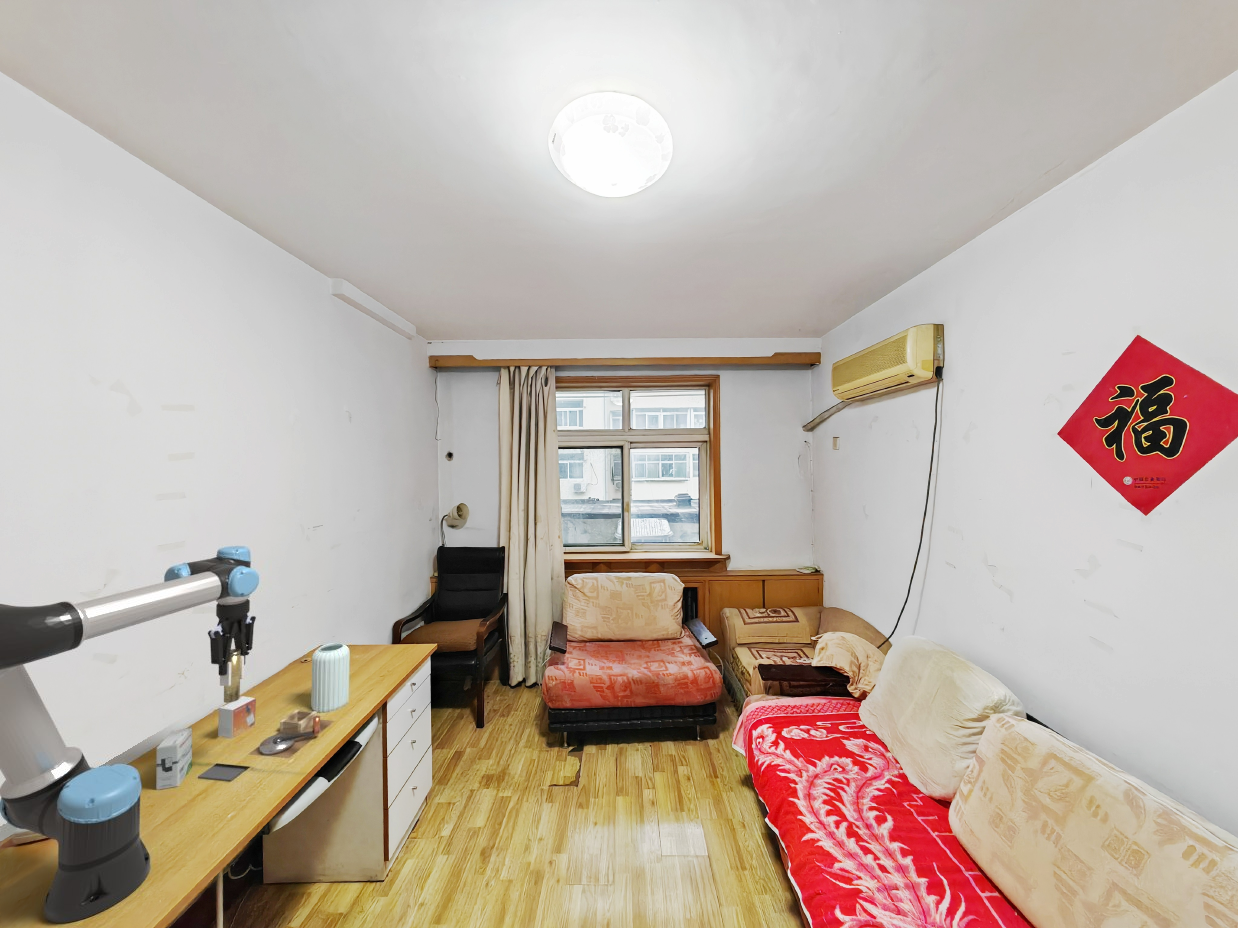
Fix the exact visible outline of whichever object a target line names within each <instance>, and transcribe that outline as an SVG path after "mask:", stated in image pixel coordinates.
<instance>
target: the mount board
mask: <svg viewBox="0 0 1238 928" xmlns="http://www.w3.org/2000/svg"><path fill="white" fill-rule="evenodd" d="M334 722H335V720H330V719H329V720H328V719H320V733H319V734H317V735H309V736H305V737H300V738H296V739H295V743H294V745H293V746H292V747H290V748H289V749H287V750H285V751H282V752H280V753H276V754H262V753H260V751H259V746H257V747H256V748H255V749H254V750H252V751H251V752H249V753H248V755H252V756H263V757H275V758H284V759H291V757H293V756H294V755H296V754H297V753H298V752H299V751H300V750H301V749H303V748H304V747H305V746H306V745H308V744H309V743H310V742H311V741H312V740H314V739H315V738H316V737H317V736H319V735H320V734H321V733H322V732H324V730H326V729H327V728H329V726H331V724H333V723H334ZM309 731H313V725H312V726H311V727H309V728H308V729H307V730H306V731H304V732H309ZM304 732H303V733H304ZM281 733H282V732H280V731H278V732H277V733H276V734H274V735H277V734H281ZM292 734H293V733H292ZM294 735H295V734H294Z"/></svg>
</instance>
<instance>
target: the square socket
mask: <svg viewBox="0 0 1238 928" xmlns="http://www.w3.org/2000/svg"><path fill="white" fill-rule="evenodd" d="M315 716H318V712H317V711H314V710H303V709H296V710H294V711H293V712H291V713H290V714H289V715H287V716H286V717H285V718H283V719H281V720H280V721H279V732H282V733H293V734H300V733H303V732H304V731H306V730H307V729H308V728H309V727H311V726H312V725H313V717H315Z"/></svg>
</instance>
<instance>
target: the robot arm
mask: <svg viewBox="0 0 1238 928" xmlns="http://www.w3.org/2000/svg"><path fill="white" fill-rule="evenodd" d="M250 550H251V549H250V548H249V547H248V546H244V545H234V546H233V545H231V546H224V547H220V548H218V550H217V552H216V555H215V556H216V557H211V558H207V559H200V560H197V561H191V562H183V563H180V564H176V565H172V566H170V567H169V568H168V569H166V571H165V574H164V577H163V579H164V580H163V582H159V583H155V584H151V585H147V586H143V587H139V588H135V589H130V590H127V591H122V592H118V593H113V594H110V595H106V596H102V597H98V598H94V599H90V600H85V601H82V602H77V603H73V602H71V601H66V600H63V601H59V602H56V603H52V604H46V605H38V606H37V605H36V606H22V605H21V606H20V605H19V606H18V605H17V606H16V605H10V604H5V603H4V604H3V603H0V772H1V774H2V775H3V777H4V779H5V780H4V781H3V783H2V784H1V785H0V797H1V798H0V815H1V817H2V818H3V819H4V820H5V821H6V822H7V824H9V825H10V826H12V827H14V828H17V829H21V830H27V831H30V832H32V833H35V834H38V835H40V836H41V835H42V836H44V837H45V838H50V839H52V840H54V841H57V846H58V847H57V852H58V853H57V859H58V861H57V865H58V866H57V870H56V873H55V876H54V878H53V881H52V883H51V887H50V889H49V890H48V891H47V894H46V896H45V899H44V904H43V905H44V907H43V908H44V909H43V915H44V918H45V919H46V920H47V921H49V922H52V923H61V924H62V923H70V922H76V921H79V920H82V919H86V918H89V917H91V916H94V915H97V914H99V913H100V912H103V911H105V910H107V909H109V908H111V907H113V906H115V905H116V904H118V903H120V902H121V901H123V900H124V899H125V898H127V897H129V896H130V895H131V894H132V893H133V892H135V890H137V889H138V888H139V887H141V885H142V884H143V883H144V882H145V881H146V879H147V877H148V876H149V874H150V871H151V855H150V853H149V851H148V849H147V847H146V845H145V843H144V842H143V840H142V838H141V836H140V832H141V831H140V828H141V827H140V826H141V793H142V781H141V776H140V772H139V771H138V769H137V768H135V767H134V766H132V765H129V764H125V763H115V764H113V765H109V764H107V765H102V766H98V767H94V768H92V767H90V765H89V763H88V761H87V759H86V757H85V755H84V753H83V752H82V750H81V748H79V747H76V746H67V744H66V743H65V741H64V740H63V738H62V735H61V734H60V732H59V729H58V728H57V726H56V724H55V723H54V720H53V718H52V716H51V714H50V713H49V710H48V708H47V707H46V705H45V703H44V702H43V700H42V698H41V696H40V694H39V692H38V690H37V688H36V686H35V684H34V682H33V680H32V679H31V677H30V675H29V673H28V671H27V669H26V667H25V665H26V664H30V663H33V662H37V661H39V660H43V659H46V658H49V657H53V656H56V655H59V654H62V653H65V652H68V651H69V652H70V651H72V650H75V649H77V648H79V647H80V646H81V645H82V644H83V642H84V641H87V640H90V639H94V638H96V637H99V636H103V635H107V634H110V633H113V632H117V631H119V630H124V629H126V628H129V627H133V626H136V625H140V624H142V623H146V622H149V621H152V620H153V621H154V620H156V619H158V618H163V617H166V616H168V615H173V614H175V613H179V612H182V611H185V610H189V609H192V608H195V607H199V606H202V605H205V604H209V603H211V602H214V601H216V603H217V604H216V607H215V608H216V609H215V610H216V611H215V616H216V618H218V622H217V625H216V627H215V628H214V629H213V630H212V629H210V630H208V632H207V635H208V638H209V640H210V642H209V643H210V663H211V665H217V666H218V676H219V686H223V687H224V686H230V685H231V662H229V657H230V651H231V649H232V646H233V645H232V644H233V643H234V649H241V653H240V680H243V679H244V678H245V665H246V656H249V655H250V651H252V649H253V644H254V643H253V641H254V630H255V629H254V627H255V622H256V620H257V616H255V615H248V614H249V612H250V609H251V608H250V607H251V606H250V604H251V603H250V602H251V601H250V599H249V598H250V595H252V594H253V592H255V591H256V589H257V588H258V586H259V584H260V574H259V573H258V572H257V571H256V569H254V568H251V564H252V563H251V562H252V559H251V558H252V557H251V551H250Z"/></svg>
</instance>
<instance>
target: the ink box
mask: <svg viewBox="0 0 1238 928" xmlns="http://www.w3.org/2000/svg"><path fill="white" fill-rule="evenodd" d="M155 753H156V757H155V758H156V771H155V772H156V775H155V777H156V778H155V779H156V781H155V782H156V786H155V787H156V790H164V789H170V788H176V787H179V785H180V784H181V783H182V782H183V781H184V779H185V777H186V776H187V775H188V773H189V772H190V770H191V769H192V767H193V728H191V727H190V728H182V729H176V730H172V731H171V732H169V734H168V735H167V736H166V737H165V738H164V739H163V740H162V742H160V744H159V745H158V746H157V747H156V752H155Z"/></svg>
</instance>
